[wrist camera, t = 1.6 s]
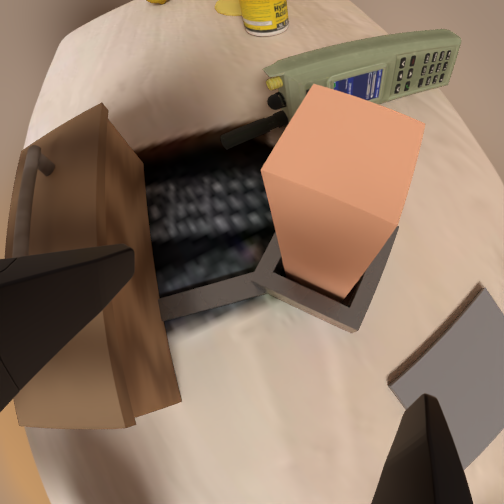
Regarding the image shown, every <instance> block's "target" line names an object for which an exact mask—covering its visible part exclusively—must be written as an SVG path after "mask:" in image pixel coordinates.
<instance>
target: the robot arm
mask: <svg viewBox="0 0 504 504" xmlns="http://www.w3.org/2000/svg"><path fill="white" fill-rule="evenodd" d="M134 272H135V252H134V249H133V248H131V247H129V246H128V245H126V244H123V243H122V244H113V245H105V246H97V247H89V248H81V249H73V250H65V251H58V252H50V253H43V254H36V255H28V256H21V257H14V258H7V259H0V412H1V411H2V410H3V409H4V408H5V407H6V405H7V404H8V403H9V402H10V401H11V400H12V399H13V398H14V397H15V396H16V395H17V394H18V393H19V392H20V390H21V389H22V388H23V387H24V386H25V385H26V384H27V383H28V382H29V381H30V380H31V379H32V378H33V377H34V376H35V375H36V374H37V373H38V372H39V371H40V370H41V369H42V368H43V367H44V366H45V365H46V364H47V363H48V362H49V361H50V360H51V359H52V358H53V357H54V356H55V355H56V354H57V353H58V352H59V351H60V350H61V349H62V348H63V347H64V346H65V345H66V344H67V343H68V342H70V341H71V340H72V339H73V338H74V337H75V336H76V335H77V334H78V333H79V332H80V331H81V330H82V329H83V328H84V327H85V326H86V325H87V324H89V323H90V322H91V321H92V320H93V319H94V318H95V317H96V316H97V315H98V314H99V313H100V312H101V311H102V310H103V309H104V308H105V307H106V306H107V305H108V304H109V303H110V302H111V300H112V299H113V298H114V297H115V296H116V295H117V294H118V293H119V292H120V290H121V289H122V288H123V287H124V286H125V285H126V284H127V283H128V282H129V281H130V279H131V278H132V277H133V275H134ZM371 504H473V501H472V497H471V493H470V490H469V486H468V483H467V480H466V476H465V473H464V470H463V467H462V464H461V461H460V458H459V455H458V452H457V449H456V446H455V443H454V440H453V437H452V435H451V432H450V429H449V427H448V424H447V421H446V419H445V416H444V414H443V411H442V409H441V406H440V404H439V401H438V399H437V398H436V397H435V396H432V395H430V394H427V393H424V394H422V395H421V396H420V397H419V398H418V399H417V400H416V401H415V402H414V403H413V404H411V405H410V406H409V407H408V408H407V410H406V411H405V412H404V414H403V417H402V419H401V422H400V425H399V428H398V431H397V433H396V436H395V439H394V441H393V444H392V446H391V449H390V451H389V454H388V456H387V459H386V462H385V464H384V467H383V470H382V474H381V477H380V480H379V483H378V486H377V489H376V492H375V495H374V497H373V500H372V503H371Z"/></svg>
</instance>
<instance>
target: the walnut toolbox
mask: <svg viewBox="0 0 504 504" xmlns="http://www.w3.org/2000/svg"><path fill="white" fill-rule="evenodd" d="M122 243H123V244H126V245H128V246H129V247H131V248H133V249H134V252H135V272H134V275H133V277H132V278H131V279H130V281H129V282H128V283H127V284H126V285H125V286H124V287H123V288H122V289H121V290H120V292H119V293H118V294H117V295H116V296H115V297H114V298H113V299H112V300H111V302H110V303H109V304H108V305H107V306H106V307H105V308H104V309H103V310H102V311H101V312H100V313H99V314H98V315H97V316H96V317H95V318H94V319H93V320H92V321H91V322H90V323H89V324H87V325H86V326H85V327H84V328H83V329H82V330H81V331H80V332H79V333H78V334H77V335H76V336H75V337H74V338H73V339H72V340H71V341H70V342H68V343H67V344H66V345H65V346H64V347H63V348H62V349H61V350H60V351H59V352H58V353H57V354H56V355H55V356H54V357H53V358H52V359H51V360H50V361H49V362H48V363H47V364H46V365H45V366H44V367H43V368H42V369H41V370H40V371H39V372H38V373H37V374H36V375H35V376H34V377H33V378H32V379H31V380H30V381H29V382H28V383H27V384H26V385H25V386H24V387H23V388H22V389H21V390H20V392H19V393H18V394H17V395H16V396H15V397H14V398H13V399H14V404H15V409H16V414H17V418H18V422H19V425H20V426H26V427H39V428H56V429H119V428H128V427H131V426H133V425H136V422H135V417H138V416H141V415H145V414H148V413H151V412H154V411H157V410H160V409H163V408H165V407H168V406H171V405H174V404H177V403H179V402H182V400H181V396H180V392H179V388H178V384H177V380H176V376H175V372H174V367H173V363H172V359H171V354H170V349H169V345H168V340H167V335H166V330H165V325H164V321H161V315H160V310H159V304H158V299H160V298H159V292H158V286H157V279H156V273H155V266H154V259H153V252H152V245H151V237H150V229H149V220H148V211H147V201H146V190H145V179H144V165H143V162H142V161H141V160H140V159H139V157H138V156H137V155H136V154H135V152H134V151H133V150H132V149H131V147H130V146H129V145H128V144H127V142H126V141H125V140H124V139H123V137H122V136H121V135H120V134H119V132H118V131H117V130H116V129H115V127H114V126H113V125H112V123H111V122H110V121H109V120H108V110H107V108H106V107H105V106H104V104H103V103H100V104H98V105H96V106H95V107H93V108H91V109H89V110H87V111H85V112H83V113H82V114H80V115H78V116H76V117H74V118H73V119H71V120H69V121H67V122H66V123H64V124H62V125H61V126H59V127H57V128H56V129H54V130H53V131H51V132H49V133H48V134H46V135H45V136H43V137H42V138H40V139H38V140H37V141H35V142H34V143H32V144H31V145H30V146H28V147H27V148H25V149H24V150H22V151H21V155H20V159H19V163H18V167H17V172H16V177H15V182H14V187H13V193H12V199H11V205H10V212H9V219H8V228H7V238H6V248H5V259H7V258H14V257H21V256H28V255H36V254H43V253H50V252H58V251H65V250H73V249H81V248H89V247H97V246H105V245H113V244H122Z"/></svg>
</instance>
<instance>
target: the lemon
mask: <svg viewBox="0 0 504 504" xmlns="http://www.w3.org/2000/svg"><path fill="white" fill-rule="evenodd" d="M146 1H148V2H151V3H160V4H164V3H165V2H166V0H146Z"/></svg>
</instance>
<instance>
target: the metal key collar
mask: <svg viewBox="0 0 504 504" xmlns="http://www.w3.org/2000/svg"><path fill="white" fill-rule="evenodd" d="M398 228H399V227H398V226H397V227H396V228H395V230H394V231H393V233H392V234H391V236H390V237H389V239H388V240H387V242H386V243H385V244H384V246H383V247H382V249H381V250H380V251H379V253H378V254H377V256H376V257H375V258H374V260H373V261H372V263H371V264H370V265H369V267H368V268H367V269H366V271H365V272H364V273H363V275H362V276H361V277H360V279H359V281H358V283H357V286H356V288H355V290H354V292H353V295H352V297H351V299H350V302H349V304H348V306H345V305H343V304H340V303H338V302H336V301H334V300H332V299H330V298H327V297H325V296H323V295H321V294H319V293H317V292H314V291H312V290H310V289H308V288H306V287H304V286H302V285H299V284H297V283H295V282H293V281H291V280H289V279H287V278H284V277H282V276H280V273H281V271H282V269H283V267H284V265H283V261H282V257H281V252H280V248H279V244H278V239H277V235H276V232H275V233H274V235H273V237H272V239H271V241H270V243H269V245H268V247H267V249H266V251H265V253H264V254H263V256H262V258H261V260H260V262H259V264H258V266H257V268H256V270H255V272H251V273H248V274H244V275H241V276H238V277H234V278H231V279H227V280H224V281H220V282H217V283H213V284H210V285H206V286H203V287H199V288H196V289H192V290H189V291H185V292H181V293H178V294H174V295H171V296H167V297H164V298H160V299H158V304H159V310H160V315H161V321H168V320H172V319H176V318H180V317H184V316H188V315H191V314H195V313H199V312H203V311H207V310H210V309H214V308H218V307H222V306H225V305H229V304H233V303H236V302H240V301H243V300H247V299H250V298H254V297H257V296H261V295H264V294H269V295H271V296H273V297H275V298H277V299H280V300H282V301H284V302H286V303H288V304H290V305H292V306H294V307H296V308H298V309H300V310H303V311H305V312H307V313H309V314H311V315H313V316H315V317H317V318H320V319H322V320H324V321H326V322H328V323H330V324H332V325H335V326H337V327H339V328H341V329H343V330H345V331H348V332H350V333H353V332H356V331H358V330H359V328H360V326H361V323H362V321H363V319H364V317H365V314H366V312H367V310H368V307H369V305H370V303H371V300H372V298H373V295H374V293H375V291H376V288H377V286H378V283H379V281H380V278H381V276H382V273H383V270H384V268H385V265H386V262H387V260H388V257H389V254H390V252H391V249H392V246H393V243H394V240H395V237H396V234H397V231H398Z"/></svg>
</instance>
